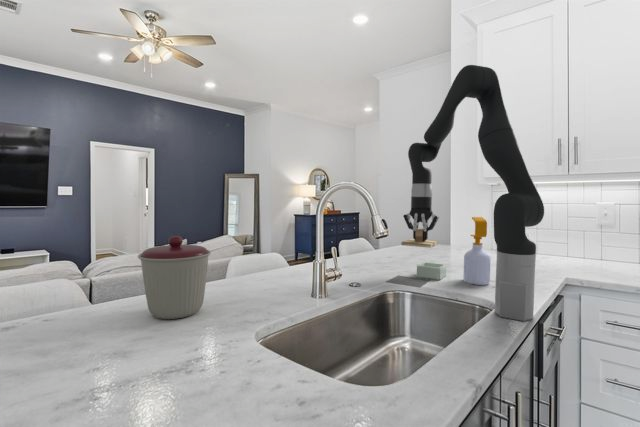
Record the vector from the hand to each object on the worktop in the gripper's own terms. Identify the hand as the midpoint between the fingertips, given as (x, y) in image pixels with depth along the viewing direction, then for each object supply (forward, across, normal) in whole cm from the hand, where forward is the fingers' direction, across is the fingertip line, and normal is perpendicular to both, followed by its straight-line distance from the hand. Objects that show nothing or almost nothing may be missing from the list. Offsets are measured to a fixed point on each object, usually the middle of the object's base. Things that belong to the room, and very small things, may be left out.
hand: (420, 240), depth 132 cm
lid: (+2, 0, 0) cm, 2 cm away
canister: (+15, -44, -75) cm, 88 cm away
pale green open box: (+15, +3, +6) cm, 17 cm away
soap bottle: (+15, +19, +8) cm, 26 cm away
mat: (+15, -2, -6) cm, 17 cm away
